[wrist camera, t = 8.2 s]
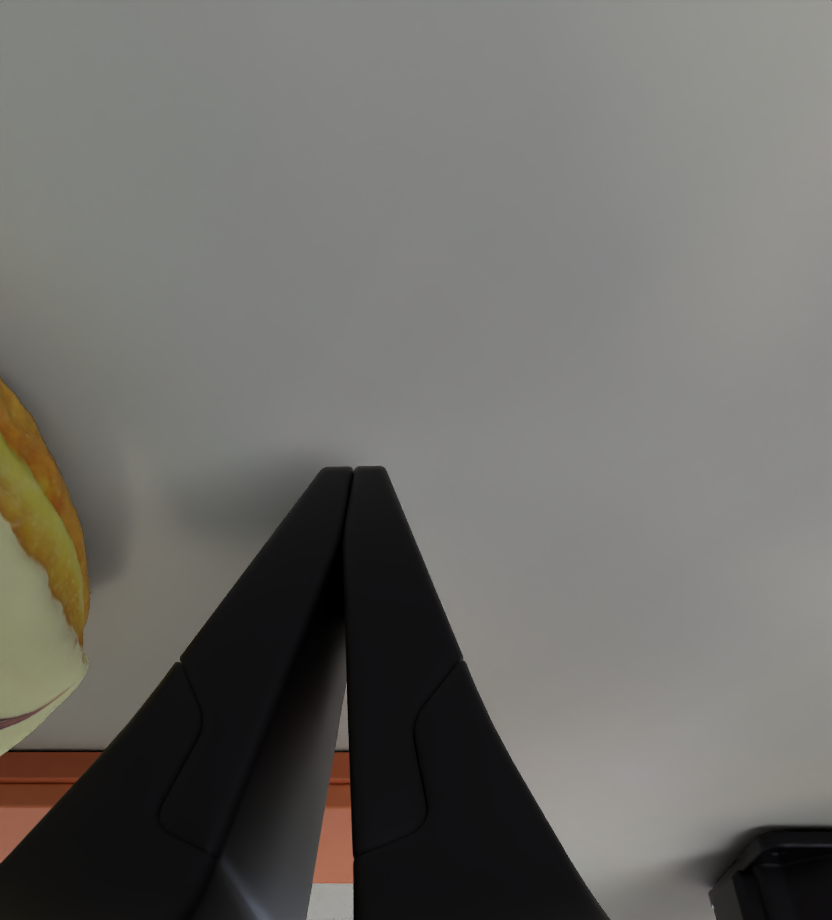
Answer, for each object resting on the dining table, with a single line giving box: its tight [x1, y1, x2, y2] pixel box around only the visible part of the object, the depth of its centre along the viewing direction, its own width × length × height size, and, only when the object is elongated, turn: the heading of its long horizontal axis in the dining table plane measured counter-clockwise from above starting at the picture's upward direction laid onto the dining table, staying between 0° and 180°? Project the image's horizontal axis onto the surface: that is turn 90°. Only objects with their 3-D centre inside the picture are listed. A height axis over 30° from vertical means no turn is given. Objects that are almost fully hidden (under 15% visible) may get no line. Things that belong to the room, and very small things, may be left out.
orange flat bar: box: [0, 752, 354, 883], centre depth 20 cm, size 14×6×1 cm, turn 92°
